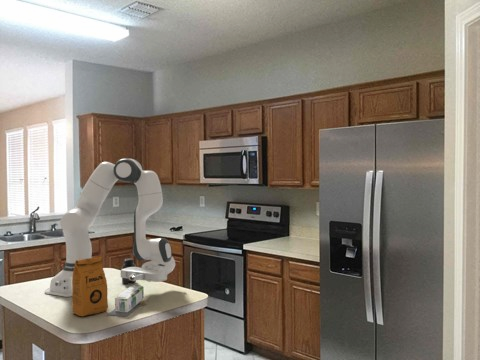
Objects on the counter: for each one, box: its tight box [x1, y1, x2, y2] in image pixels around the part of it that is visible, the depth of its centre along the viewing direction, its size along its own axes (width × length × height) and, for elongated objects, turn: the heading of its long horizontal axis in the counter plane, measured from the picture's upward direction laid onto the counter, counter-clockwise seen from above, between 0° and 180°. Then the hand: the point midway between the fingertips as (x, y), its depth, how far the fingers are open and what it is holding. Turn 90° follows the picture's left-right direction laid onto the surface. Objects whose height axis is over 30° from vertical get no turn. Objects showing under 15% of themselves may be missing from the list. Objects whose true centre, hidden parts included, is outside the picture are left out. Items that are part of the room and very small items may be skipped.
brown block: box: [137, 300, 147, 306], centre depth 173 cm, size 10×1×1 cm, turn 78°
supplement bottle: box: [121, 257, 137, 285], centre depth 206 cm, size 7×7×12 cm
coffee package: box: [71, 255, 109, 317], centre depth 163 cm, size 10×12×22 cm
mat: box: [106, 305, 142, 317], centre depth 166 cm, size 8×13×1 cm, turn 168°
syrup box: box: [114, 285, 145, 312], centre depth 169 cm, size 6×6×14 cm
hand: (131, 278), depth 173 cm, fingers closed
